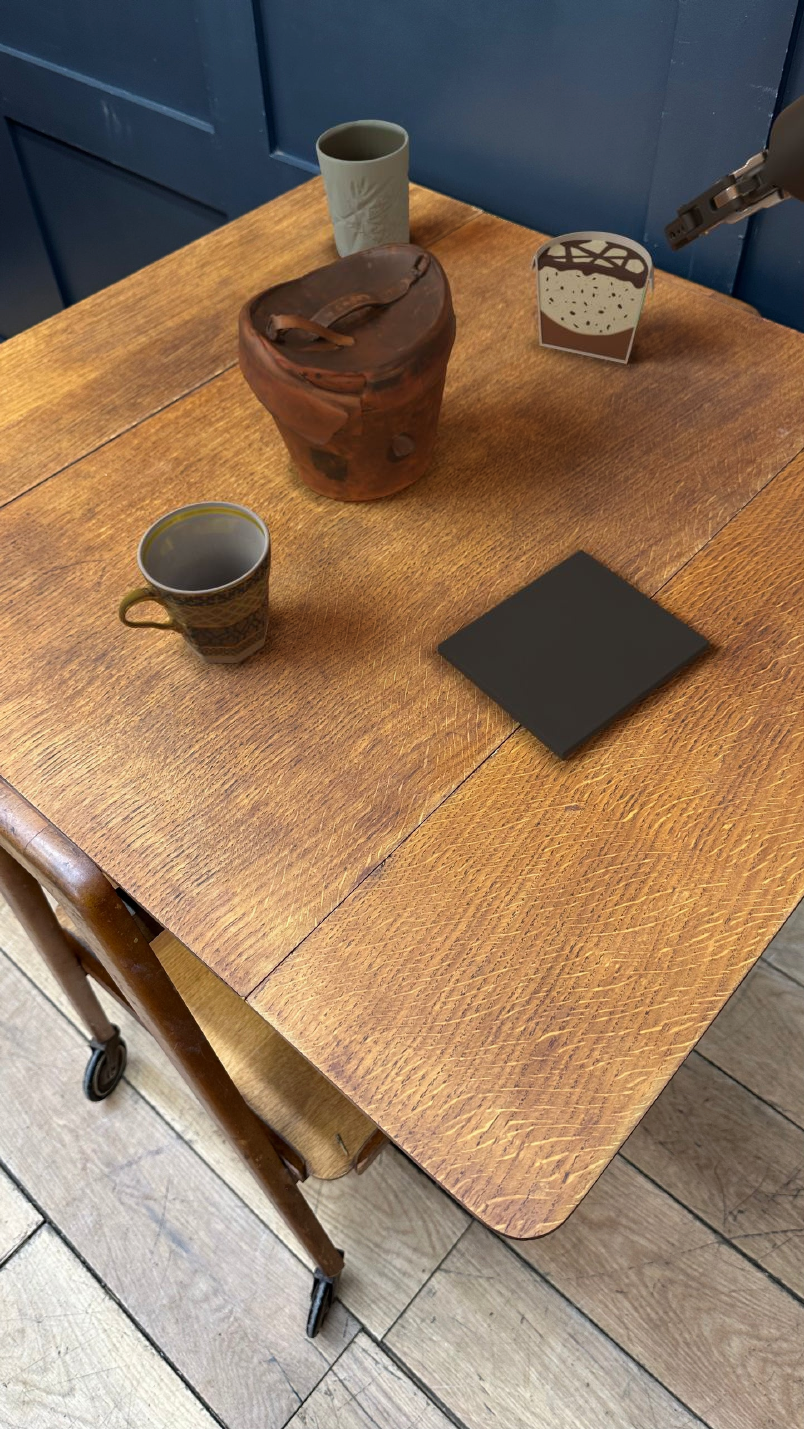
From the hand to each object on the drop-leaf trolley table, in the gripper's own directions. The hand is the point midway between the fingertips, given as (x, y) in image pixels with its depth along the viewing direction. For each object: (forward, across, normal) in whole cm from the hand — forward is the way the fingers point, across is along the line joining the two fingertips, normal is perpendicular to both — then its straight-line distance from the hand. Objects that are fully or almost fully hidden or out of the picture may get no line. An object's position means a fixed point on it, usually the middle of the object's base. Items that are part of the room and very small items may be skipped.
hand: (706, 222), depth 89 cm
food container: (+19, +1, +4) cm, 20 cm away
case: (+19, +31, +4) cm, 37 cm away
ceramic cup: (+11, +54, +13) cm, 56 cm away
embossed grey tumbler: (+41, +8, -18) cm, 45 cm away
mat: (-2, +31, +26) cm, 41 cm away
